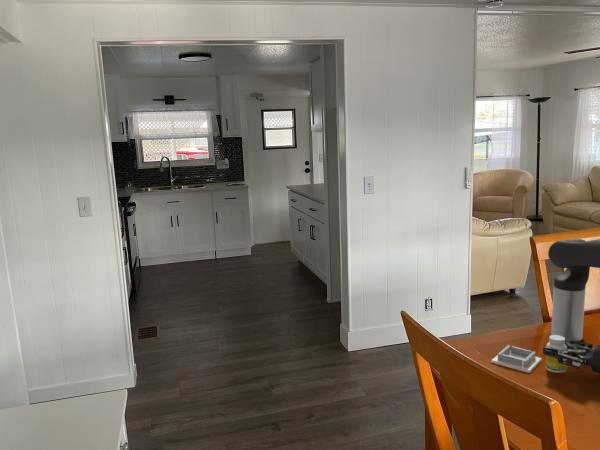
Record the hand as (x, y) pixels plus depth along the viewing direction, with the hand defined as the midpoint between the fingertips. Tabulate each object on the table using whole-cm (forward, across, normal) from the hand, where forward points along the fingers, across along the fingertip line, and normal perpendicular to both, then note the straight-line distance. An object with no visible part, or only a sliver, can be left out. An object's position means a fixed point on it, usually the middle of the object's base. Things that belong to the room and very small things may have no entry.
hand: (547, 347), depth 143 cm
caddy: (+8, 0, +7) cm, 11 cm away
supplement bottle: (-3, 0, +6) cm, 7 cm away
